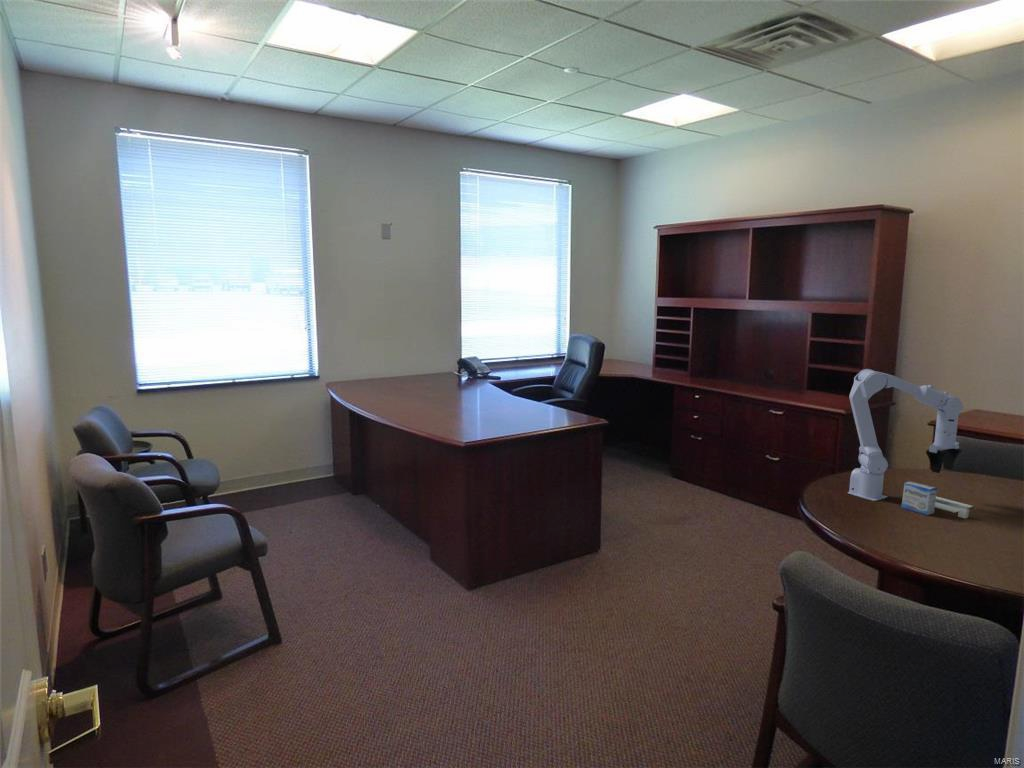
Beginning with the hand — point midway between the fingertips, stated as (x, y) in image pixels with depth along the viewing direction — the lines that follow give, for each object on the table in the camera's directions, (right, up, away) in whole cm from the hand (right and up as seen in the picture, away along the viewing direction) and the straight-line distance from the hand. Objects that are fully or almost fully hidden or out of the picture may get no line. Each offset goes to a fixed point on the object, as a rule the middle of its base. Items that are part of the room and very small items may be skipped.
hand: (941, 470), depth 203 cm
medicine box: (-14, -12, -8) cm, 20 cm away
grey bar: (-7, -9, -7) cm, 14 cm away
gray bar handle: (-7, -12, -7) cm, 15 cm away
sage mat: (-2, -11, -1) cm, 11 cm away
